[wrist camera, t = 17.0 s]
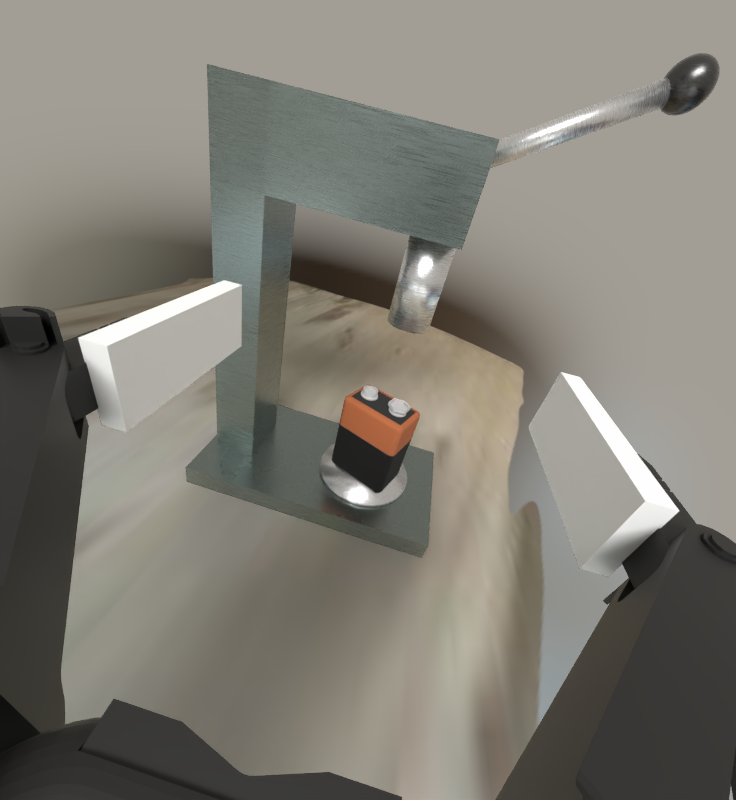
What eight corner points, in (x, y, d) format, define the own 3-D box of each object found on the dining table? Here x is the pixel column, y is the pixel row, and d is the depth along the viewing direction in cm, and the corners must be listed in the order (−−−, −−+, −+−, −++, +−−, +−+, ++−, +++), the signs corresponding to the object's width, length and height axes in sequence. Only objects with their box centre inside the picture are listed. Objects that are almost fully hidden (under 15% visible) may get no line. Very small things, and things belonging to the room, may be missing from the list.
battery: (378, 496, 36) (404, 423, 31) (329, 462, 38) (345, 388, 33) (398, 475, 39) (425, 405, 34) (351, 444, 42) (370, 374, 36)
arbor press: (187, 481, 35) (113, -238, 13) (252, 409, 47) (271, -35, 25) (485, 578, 34) (969, -54, 12) (476, 478, 45) (707, 69, 23)
